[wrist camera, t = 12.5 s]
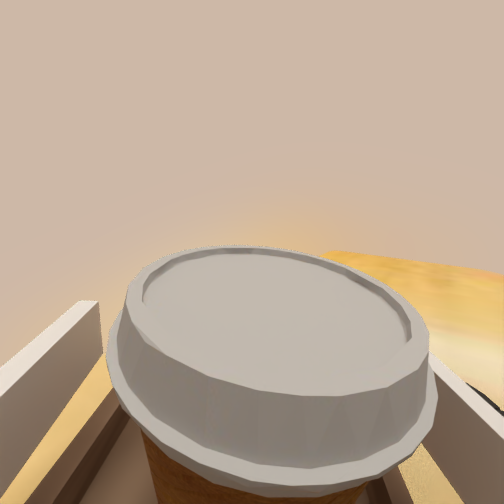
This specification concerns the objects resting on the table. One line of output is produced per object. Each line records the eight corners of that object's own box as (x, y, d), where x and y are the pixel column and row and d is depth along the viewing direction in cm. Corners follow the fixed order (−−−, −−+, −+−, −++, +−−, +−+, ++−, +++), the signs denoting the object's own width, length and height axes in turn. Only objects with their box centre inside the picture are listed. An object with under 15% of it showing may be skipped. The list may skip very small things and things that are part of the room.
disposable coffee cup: (101, 493, 12) (73, 257, 8) (250, 394, 18) (271, 236, 14) (202, 945, 5) (290, 731, 2) (384, 538, 11) (485, 309, 8)
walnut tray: (348, 403, 19) (357, 372, 18) (651, 1318, 4) (803, 1411, 3) (149, 371, 20) (148, 341, 19) (-270, 1026, 5) (-375, 1024, 4)
